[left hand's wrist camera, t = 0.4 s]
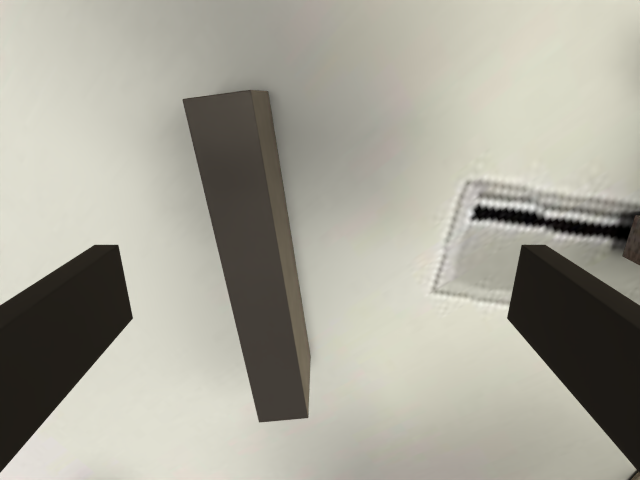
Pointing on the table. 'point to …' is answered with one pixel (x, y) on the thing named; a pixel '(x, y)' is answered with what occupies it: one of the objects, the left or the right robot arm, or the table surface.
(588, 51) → the table surface
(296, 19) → the table surface
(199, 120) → the bar
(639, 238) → the toy
